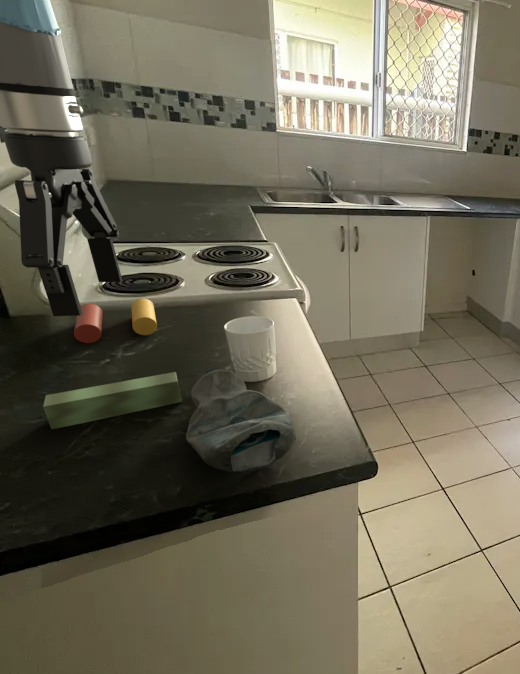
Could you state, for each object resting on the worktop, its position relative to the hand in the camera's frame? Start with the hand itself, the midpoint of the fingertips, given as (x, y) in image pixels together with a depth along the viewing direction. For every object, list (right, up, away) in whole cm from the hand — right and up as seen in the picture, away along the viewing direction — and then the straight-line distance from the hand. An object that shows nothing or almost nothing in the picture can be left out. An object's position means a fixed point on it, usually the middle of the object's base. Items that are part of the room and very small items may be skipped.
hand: (91, 296), depth 66 cm
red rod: (-27, -5, +31) cm, 41 cm away
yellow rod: (-20, -3, +36) cm, 41 cm away
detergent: (+17, -20, +7) cm, 27 cm away
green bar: (-3, -17, +8) cm, 19 cm away
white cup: (+12, -13, +22) cm, 28 cm away
